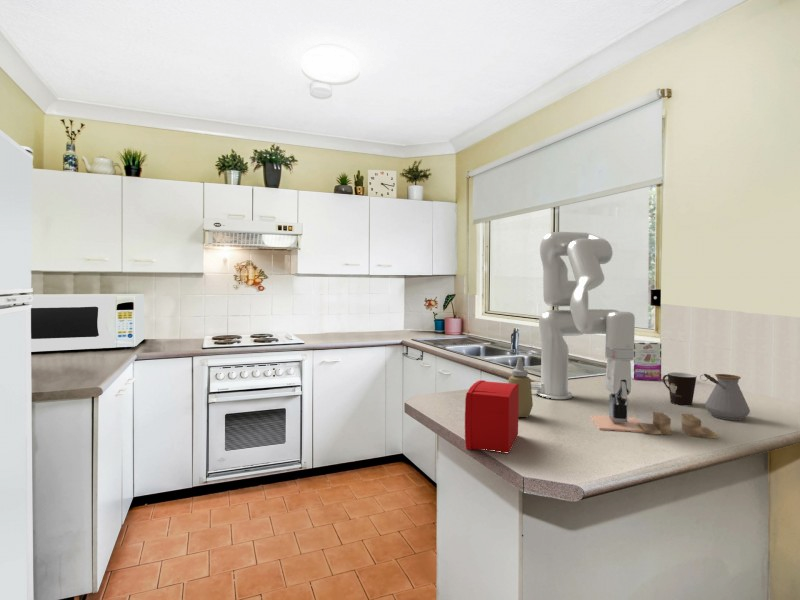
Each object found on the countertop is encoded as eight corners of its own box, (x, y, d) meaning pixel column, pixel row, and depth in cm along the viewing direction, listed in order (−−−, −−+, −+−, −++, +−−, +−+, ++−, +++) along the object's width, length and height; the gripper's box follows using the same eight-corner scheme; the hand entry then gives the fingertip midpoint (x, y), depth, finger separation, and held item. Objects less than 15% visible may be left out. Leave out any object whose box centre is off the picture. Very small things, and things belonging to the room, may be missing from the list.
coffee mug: (700, 407, 155) (701, 377, 155) (672, 405, 157) (672, 376, 156) (686, 398, 166) (686, 371, 166) (660, 397, 168) (660, 370, 168)
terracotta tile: (599, 429, 130) (599, 427, 130) (590, 417, 143) (590, 415, 143) (649, 433, 127) (649, 430, 127) (635, 419, 140) (635, 417, 140)
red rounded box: (479, 430, 129) (479, 377, 129) (518, 435, 125) (518, 380, 125) (464, 449, 114) (464, 389, 114) (508, 455, 110) (509, 393, 110)
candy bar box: (656, 378, 203) (657, 341, 202) (661, 381, 198) (662, 343, 198) (629, 377, 205) (630, 340, 204) (633, 379, 200) (634, 342, 199)
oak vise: (644, 433, 127) (645, 417, 126) (637, 426, 133) (637, 410, 133) (718, 438, 123) (718, 421, 123) (706, 430, 130) (706, 414, 130)
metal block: (612, 421, 133) (612, 397, 133) (609, 417, 137) (609, 394, 137) (627, 422, 133) (627, 398, 132) (623, 418, 137) (623, 395, 136)
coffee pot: (714, 409, 152) (716, 364, 151) (756, 418, 142) (757, 370, 142) (681, 419, 140) (683, 370, 140) (724, 429, 131) (726, 377, 130)
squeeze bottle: (533, 413, 146) (534, 357, 145) (531, 420, 138) (532, 361, 138) (507, 411, 149) (508, 355, 148) (504, 418, 141) (505, 359, 140)
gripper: (599, 349, 143) (598, 407, 144) (612, 357, 127) (611, 423, 128) (625, 350, 142) (624, 409, 142) (642, 358, 125) (640, 425, 126)
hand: (618, 415), depth 135 cm, fingers closed on metal block, 4 cm apart
